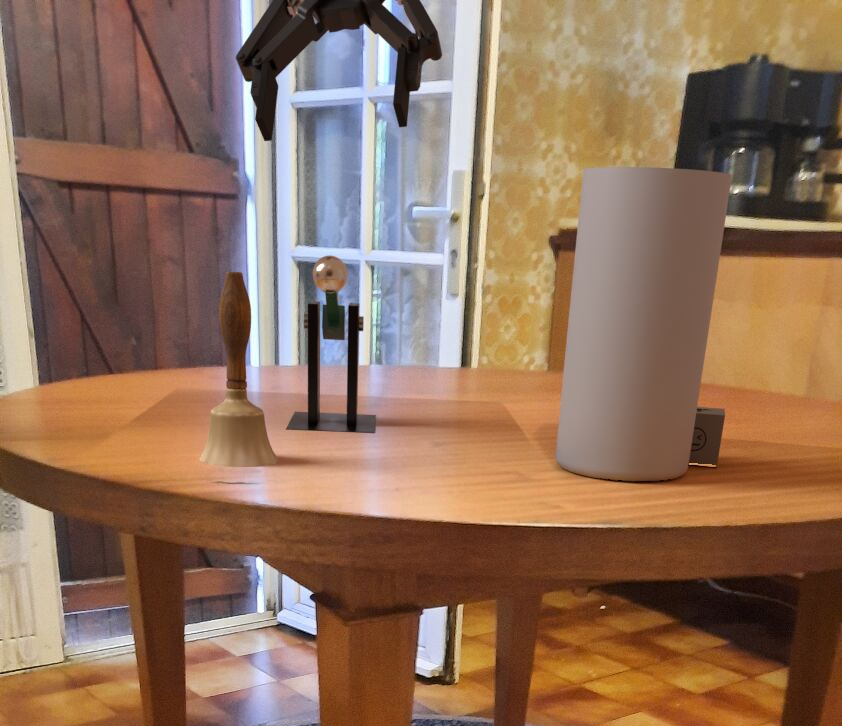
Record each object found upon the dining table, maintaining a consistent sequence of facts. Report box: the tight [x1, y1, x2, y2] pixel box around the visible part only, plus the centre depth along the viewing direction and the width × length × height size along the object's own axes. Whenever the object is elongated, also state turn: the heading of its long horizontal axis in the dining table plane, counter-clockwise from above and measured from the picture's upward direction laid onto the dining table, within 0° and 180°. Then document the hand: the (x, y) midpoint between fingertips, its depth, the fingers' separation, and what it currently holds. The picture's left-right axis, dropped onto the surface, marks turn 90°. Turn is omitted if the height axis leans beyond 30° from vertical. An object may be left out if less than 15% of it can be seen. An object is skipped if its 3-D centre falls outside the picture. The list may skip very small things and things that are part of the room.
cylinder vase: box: [554, 166, 733, 482], centre depth 96 cm, size 12×12×25 cm
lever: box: [312, 255, 349, 341], centre depth 103 cm, size 13×3×3 cm
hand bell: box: [199, 271, 279, 484], centre depth 89 cm, size 8×8×16 cm
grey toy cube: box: [689, 406, 726, 466], centre depth 107 cm, size 5×5×5 cm
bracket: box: [285, 300, 377, 434], centre depth 110 cm, size 12×9×13 cm
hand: (330, 123), depth 102 cm, fingers open, 13 cm apart
